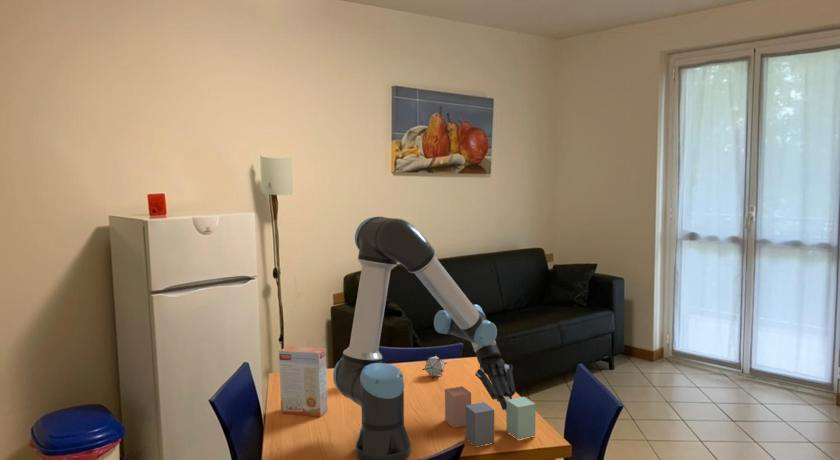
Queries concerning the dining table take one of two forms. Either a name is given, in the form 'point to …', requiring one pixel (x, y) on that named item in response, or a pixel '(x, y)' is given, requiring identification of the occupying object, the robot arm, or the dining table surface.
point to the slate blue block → (479, 424)
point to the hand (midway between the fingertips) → (513, 418)
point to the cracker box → (303, 381)
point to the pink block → (456, 406)
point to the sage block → (521, 417)
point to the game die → (434, 366)
